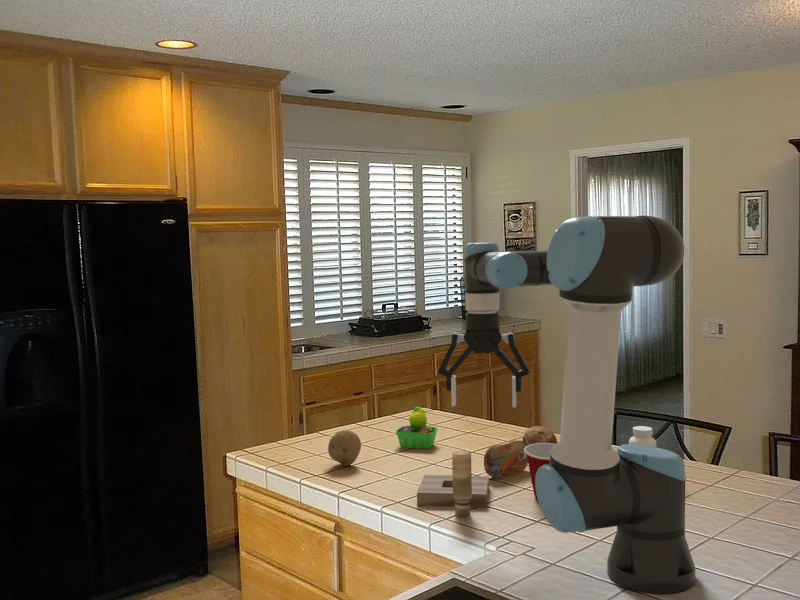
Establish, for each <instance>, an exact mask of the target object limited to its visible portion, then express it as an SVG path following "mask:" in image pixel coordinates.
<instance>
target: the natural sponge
mask: <svg viewBox="0 0 800 600" xmlns="http://www.w3.org/2000/svg"><path fill="white" fill-rule="evenodd" d="M328 442H329V443H328V446H327V451H328V455H329V457H330V458H331V459H332V460H334V461H335V462H338V463H339V464H340V465H341V466H343V467H348V466H351V465H352V464H353V463H354V462H355V461H356V460H357V458H358V456H359V455H360V452H361V449H362V441H361V438H360V437H359V435H358V434H357V433H355V431H352V430H350V429H349V430H348V429H343V430H340V431H338V432H336V433H335V434H334V435H332V436H331V438H330V439H329V441H328Z"/></svg>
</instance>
